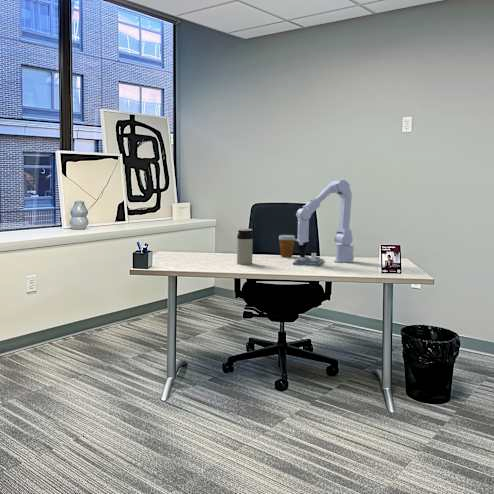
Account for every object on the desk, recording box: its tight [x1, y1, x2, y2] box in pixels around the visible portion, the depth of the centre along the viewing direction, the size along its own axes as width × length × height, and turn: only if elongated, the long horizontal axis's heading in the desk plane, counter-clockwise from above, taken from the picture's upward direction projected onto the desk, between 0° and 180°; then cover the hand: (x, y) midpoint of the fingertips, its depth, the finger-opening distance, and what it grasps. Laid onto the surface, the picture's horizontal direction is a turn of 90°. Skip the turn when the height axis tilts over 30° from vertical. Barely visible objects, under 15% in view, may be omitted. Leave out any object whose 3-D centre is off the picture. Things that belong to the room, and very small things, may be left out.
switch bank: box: [292, 255, 325, 267], centre depth 297 cm, size 14×18×2 cm
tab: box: [310, 252, 317, 261], centre depth 293 cm, size 2×4×4 cm, turn 167°
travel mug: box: [236, 228, 254, 266], centre depth 292 cm, size 8×8×18 cm
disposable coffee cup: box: [278, 234, 296, 258], centre depth 319 cm, size 10×10×12 cm
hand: (302, 257), depth 295 cm, fingers closed
